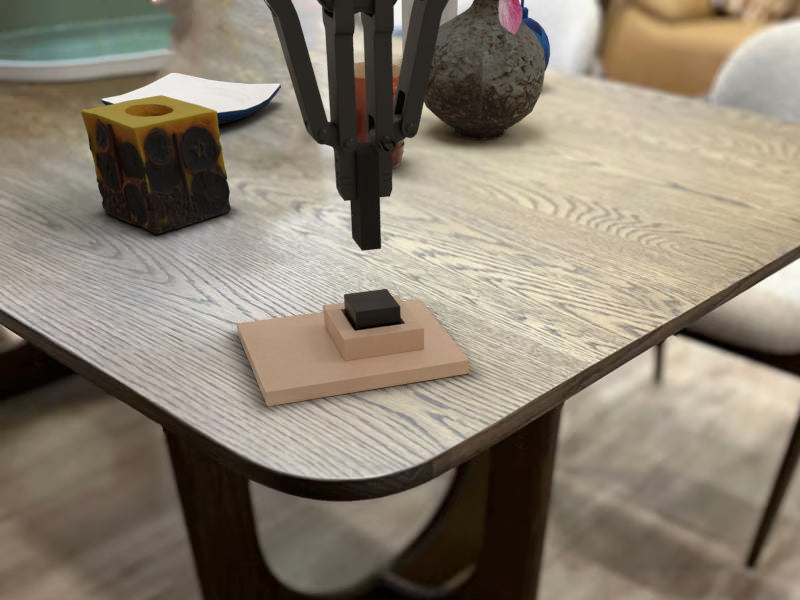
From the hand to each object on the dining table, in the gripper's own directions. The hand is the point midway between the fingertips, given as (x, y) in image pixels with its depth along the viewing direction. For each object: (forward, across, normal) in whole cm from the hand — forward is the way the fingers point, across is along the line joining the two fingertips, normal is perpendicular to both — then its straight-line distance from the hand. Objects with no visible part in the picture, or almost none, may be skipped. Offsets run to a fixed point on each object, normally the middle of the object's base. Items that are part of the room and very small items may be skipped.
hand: (366, 242), depth 63 cm
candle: (+9, -12, +38) cm, 41 cm away
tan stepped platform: (+9, -2, 0) cm, 9 cm away
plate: (+9, -3, +80) cm, 80 cm away
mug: (+9, +15, +47) cm, 50 cm away
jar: (+9, +41, +103) cm, 111 cm away
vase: (+9, +33, +58) cm, 67 cm away
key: (+6, 0, 0) cm, 6 cm away
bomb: (+9, +48, +81) cm, 95 cm away
